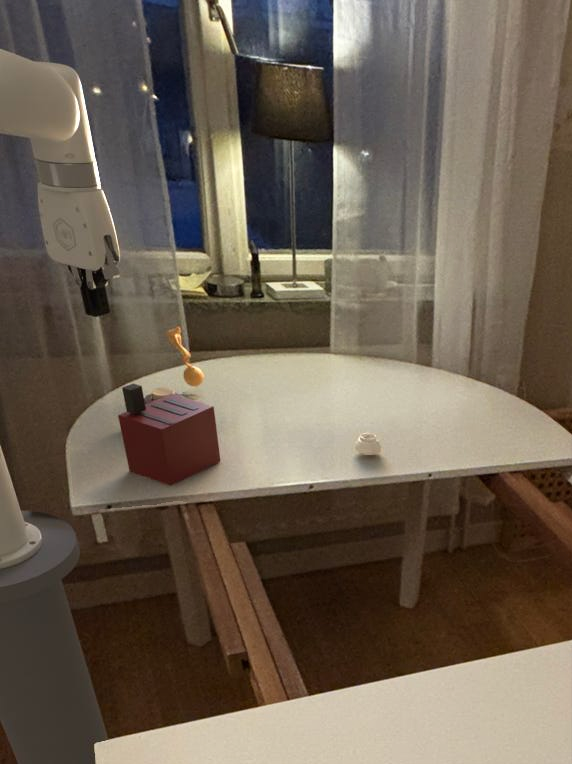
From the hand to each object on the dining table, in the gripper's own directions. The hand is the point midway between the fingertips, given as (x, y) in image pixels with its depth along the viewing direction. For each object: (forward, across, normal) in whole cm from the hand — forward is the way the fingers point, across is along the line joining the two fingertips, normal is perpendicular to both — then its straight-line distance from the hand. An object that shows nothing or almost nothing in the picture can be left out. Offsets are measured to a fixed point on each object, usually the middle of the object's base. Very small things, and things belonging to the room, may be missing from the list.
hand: (98, 313), depth 116 cm
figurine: (+25, -16, +32) cm, 43 cm away
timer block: (+24, -8, +17) cm, 31 cm away
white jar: (+25, +30, +28) cm, 48 cm away
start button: (+21, -8, +17) cm, 28 cm away
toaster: (+24, +8, +3) cm, 26 cm away
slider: (+14, +4, 0) cm, 15 cm away
